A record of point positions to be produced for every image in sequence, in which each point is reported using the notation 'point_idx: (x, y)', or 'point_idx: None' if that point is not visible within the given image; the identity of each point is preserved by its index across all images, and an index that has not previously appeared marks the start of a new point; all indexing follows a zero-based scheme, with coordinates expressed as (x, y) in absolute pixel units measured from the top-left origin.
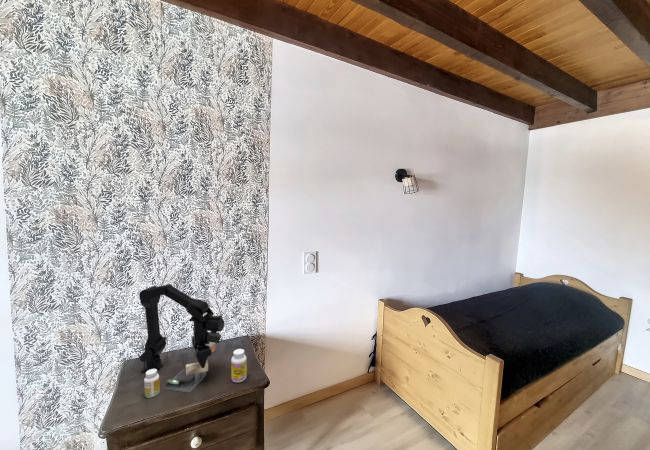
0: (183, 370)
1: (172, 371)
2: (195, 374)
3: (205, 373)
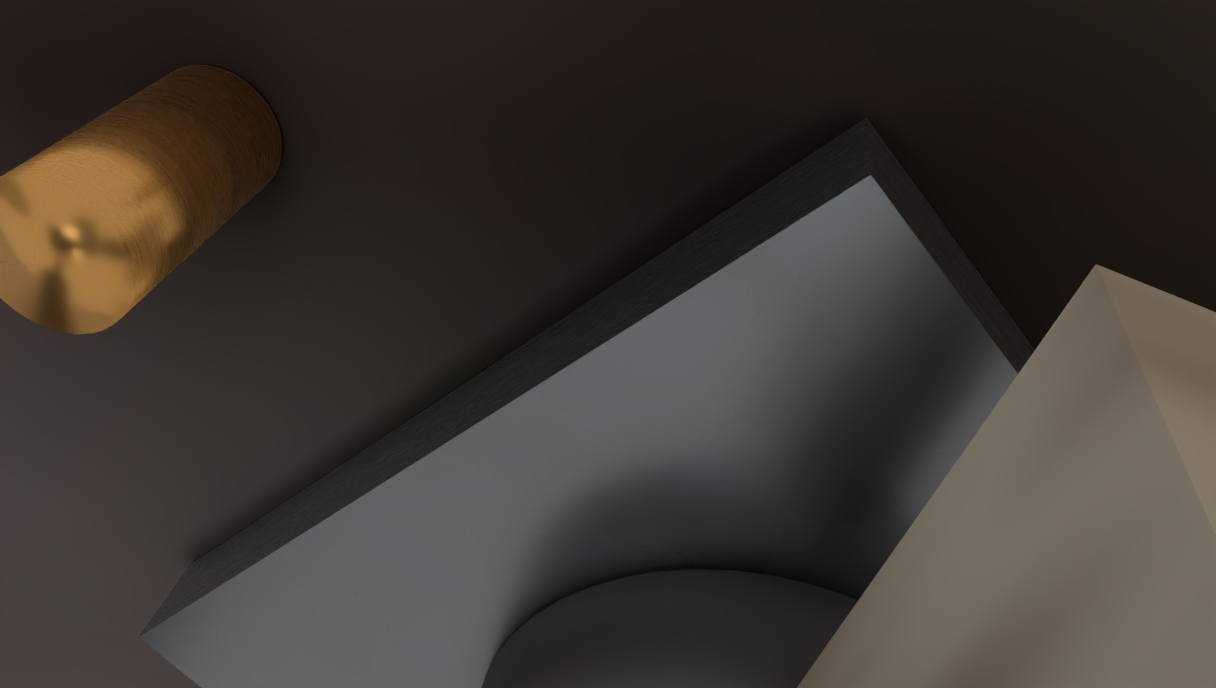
0: (209, 646)
1: (19, 680)
2: (708, 530)
3: (926, 238)
